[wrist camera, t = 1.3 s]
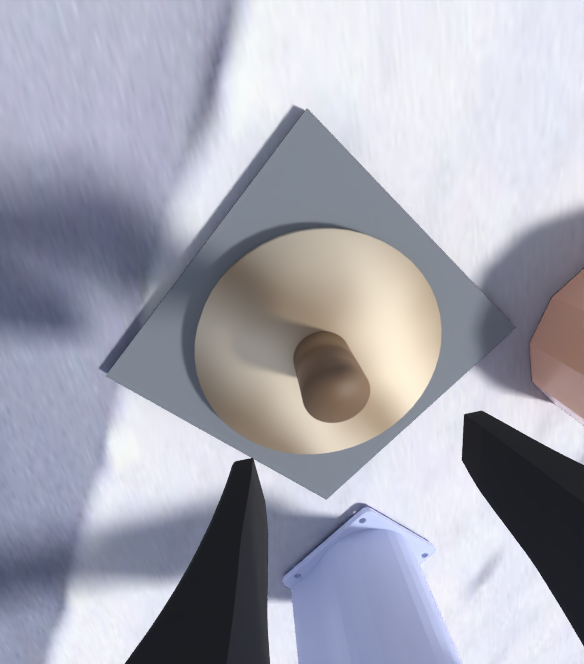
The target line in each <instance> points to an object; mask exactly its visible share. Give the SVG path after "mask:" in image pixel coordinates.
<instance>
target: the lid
mask: <svg viewBox="0 0 584 664" xmlns="http://www.w3.org/2000/svg"><path fill="white" fill-rule="evenodd" d="M441 331H442V328H441V319H440V312H439V309H438V305H437V301H436V298H435V296H434V294H433V291H432V289H431V287H430V285H429V284H428V282H427V280H426V279H425V277H424V276H423V274H422V273H421V272H420V270H419V269H418V268H417V267H416V266H415V265H414V264H413V262H412V261H410V260H409V259H408V258H407V257H406V256H404V255H403V254H402V253H401V252H400V251H398V250H396V249H395V248H393V247H391V246H390V245H388V244H387V243H385V242H383V241H381V240H378V239H376V238H374V237H371V236H369V235H366V234H364V233H360V232H356V231H352V230H348V229H340V228H331V227H330V228H309V229H303V230H297V231H293V232H290V233H286V234H283V235H280V236H277V237H275V238H273V239H270V240H268V241H266V242H264V243H262V244H260V245H258V246H257V247H255V248H254V249H252V250H250V251H249V252H247V253H246V254H245V255H243V256H242V257H241V258H240V259H239V260H237V261H236V262H235V263H234V264H233V265H232V266H231V267H230V268H229V269H228V270H227V271H226V272H225V273H224V275H223V276H222V277H221V278H220V280H219V281H218V282H217V284H216V285H215V287H214V288H213V290H212V291H211V293H210V295H209V297H208V299H207V301H206V303H205V306H204V308H203V311H202V314H201V317H200V320H199V323H198V327H197V332H196V338H195V365H196V372H197V376H198V379H199V382H200V386H201V388H202V390H203V393H204V395H205V397H206V399H207V401H208V402H209V404H210V405H211V407H212V408H213V410H214V411H215V412H216V414H217V415H218V416H219V417H220V418H221V419H222V420H223V422H224V423H226V424H227V425H228V426H229V427H230V428H231V429H233V430H234V431H235V432H237V433H238V434H240V435H241V436H243V437H244V438H246V439H248V440H250V441H252V442H254V443H256V444H258V445H260V446H263V447H266V448H269V449H272V450H276V451H280V452H284V453H293V454H323V453H330V452H335V451H340V450H344V449H347V448H350V447H354V446H356V445H359V444H361V443H364V442H366V441H368V440H370V439H372V438H374V437H376V436H378V435H379V434H381V433H382V432H384V431H385V430H387V429H388V428H390V427H391V426H393V425H394V424H395V423H396V422H397V421H399V420H400V419H401V418H402V417H403V416H404V415H405V414H406V413H407V412H408V411H409V410H410V409H411V408H412V407H413V406H414V404H415V403H416V402H417V400H418V399H419V398H420V397H421V395H422V394H423V392H424V390H425V389H426V387H427V385H428V384H429V381H430V379H431V377H432V375H433V373H434V370H435V367H436V364H437V361H438V358H439V352H440V346H441Z"/></svg>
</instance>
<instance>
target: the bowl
mask: <svg viewBox="0 0 584 664" xmlns="http://www.w3.org/2000/svg"><path fill="white" fill-rule="evenodd" d="M529 344H530V360H531V376H532V382H533V383H534V384H535V385H536V386H537V387H538V388H539V389H540V390H541V391H542V392H543V393H544V394H545V395H546V396H547V397H548V398H549V399H550V400H551V401H552V402H553V403H554V404H555V405H557V406H558V407H559V408H561V409H562V410H563V411H565V412H566V413H567V414H569V415H570V416H571V417H573V418H574V419H575V420H577V421H578V422H579V423H581V424H582V425H583V426H584V269H583V270H582V271H580V272H579V273H578V274H577V275H576V276H575V277H574V278H573V279H572V280H571V281H569V282H568V283H567V284H566V285H565V286H564V287H563V288H562V289H561V290H559V291H558V292H557V293H556V294H555V295H554V296H553V297H552V298H551V300H550V302H549V304H548V306H547V308H546V310H545V312H544V314H543V316H542V318H541V321H540V323H539V325H538V327H537V329H536V331H535V333H534V335H533V337H532V339H531V341H530V343H529Z"/></svg>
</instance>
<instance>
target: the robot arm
mask: <svg viewBox="0 0 584 664" xmlns="http://www.w3.org/2000/svg"><path fill="white" fill-rule="evenodd" d="M462 461H463V463H464V465H465V467H466V468H467V470H468V472H469V474H470V476H471V477H472V479H473V481H474V482H475V484H476V486H477V487H478V489H479V490H480V492H481V493H482V495H483V496H484V497H485V499H486V500H487V501H488V503H489V504H490V505H491V507H492V508H493V510H494V511H495V512H496V514H497V515H498V516H499V518H500V519H501V520H502V522H503V523H504V524H505V526H506V527H507V528H508V530H509V531H510V532H511V534H512V535H513V536H514V538H515V539H516V540H517V542H518V543H519V544H520V546H521V547H522V548H523V550H524V551H525V552H526V554H527V555H528V557H529V558H530V559H531V561H532V562H533V564H534V565H535V567H536V568H537V570H538V571H539V573H540V574H541V576H542V578H543V579H544V581H545V582H546V584H547V586H548V587H549V589H550V590H551V592H552V594H553V595H554V597H555V599H556V600H557V602H558V603H559V605H560V607H561V608H562V610H563V612H564V613H565V615H566V617H567V618H568V620H569V622H570V624H571V625H572V627H573V629H574V630H575V632H576V634H577V635H578V637H579V639H580V640H581V642H582V644H583V646H584V465H582V464H580V463H578V462H576V461H574V460H572V459H570V458H568V457H566V456H564V455H562V454H560V453H558V452H556V451H554V450H553V449H551V448H549V447H547V446H545V445H543V444H541V443H539V442H538V441H536V440H534V439H532V438H530V437H528V436H527V435H525V434H523V433H521V432H519V431H518V430H516V429H514V428H512V427H511V426H509V425H507V424H505V423H503V422H502V421H500V420H498V419H496V418H494V417H493V416H491V415H489V414H487V413H485V412H483V411H478V412H473V413H468V414H464V427H463V447H462ZM434 552H435V547H434V545H433V544H432V543H430V542H428V541H427V540H425V539H423V538H421V537H420V536H418V535H416V534H415V533H413V532H411V531H409V530H408V529H406V528H404V527H403V526H401V525H399V524H397V523H396V522H394V521H392V520H391V519H389V518H387V517H385V516H384V515H382V514H380V513H379V512H377V511H375V510H373V509H372V508H369V507H365V508H362V509H361V510H360V511H359V512H358V513H356V514H355V515H354V516H353V517H352V518H351V519H349V520H348V521H347V522H346V523H345V524H344V525H343V526H341V527H340V528H339V529H338V530H337V531H336V532H334V533H333V534H332V535H331V536H330V537H329V538H328V539H326V540H325V541H324V542H323V543H322V544H321V545H319V546H318V547H317V548H316V549H315V550H314V551H313V552H311V553H310V554H309V555H308V556H307V557H306V558H304V559H303V560H302V561H301V562H300V563H299V564H298V565H296V566H295V567H294V568H293V569H292V570H291V571H289V572H288V573H287V574H286V575H285V576H284V577H283V579H282V582H283V585H284V586H285V587H288V588H290V589H291V593H292V603H293V613H294V623H295V633H296V643H297V653H298V663H299V664H463V663H462V661H461V658H460V656H459V654H458V652H457V649H456V647H455V645H454V642H453V640H452V638H451V636H450V633H449V631H448V629H447V626H446V624H445V622H444V620H443V617H442V615H441V613H440V610H439V608H438V606H437V603H436V601H435V599H434V597H433V594H432V592H431V590H430V587H429V585H428V583H427V581H426V578H425V576H424V574H423V571H422V569H421V567H420V565H419V564H421V563H422V562H423V561H425V560H426V559H427V558H428V557H430V556H431V555H432V554H433V553H434ZM267 588H268V527H267V516H266V505H265V499H264V495H263V492H262V488H261V485H260V481H259V477H258V474H257V470H256V467H255V463H254V459H253V458H250V459H245V460H240V461H236V462H234V464H233V465H232V468H231V471H230V474H229V477H228V480H227V483H226V486H225V488H224V491H223V494H222V496H221V499H220V501H219V504H218V506H217V508H216V511H215V513H214V515H213V518H212V520H211V522H210V525H209V527H208V529H207V531H206V533H205V535H204V537H203V539H202V541H201V543H200V545H199V547H198V549H197V551H196V553H195V555H194V557H193V559H192V561H191V563H190V565H189V566H188V568H187V570H186V572H185V573H184V575H183V577H182V579H181V580H180V582H179V584H178V586H177V587H176V589H175V591H174V592H173V594H172V595H171V597H170V599H169V600H168V602H167V603H166V605H165V606H164V608H163V610H162V611H161V613H160V614H159V616H158V617H157V619H156V620H155V622H154V623H153V625H152V626H151V628H150V629H149V631H148V632H147V633H146V635H145V636H144V638H143V639H142V640H141V642H140V643H139V645H138V646H137V647H136V649H135V650H134V652H133V653H132V654H131V656H130V657H129V659H128V660H127V661H126V663H125V664H270V657H269V642H268V623H267Z"/></svg>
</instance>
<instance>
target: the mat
mask: <svg viewBox="0 0 584 664" xmlns="http://www.w3.org/2000/svg"><path fill="white" fill-rule="evenodd" d="M330 227H331V228H340V229H348V230H352V231H356V232H360V233H364V234H366V235H369V236H371V237H374V238H376V239H378V240H381V241H383V242H385V243H387V244H388V245H390V246H391V247H393V248H395V249H396V250H398V251H400V252H401V253H402V254H403V255H404V256H406V257H407V258H408V259H409V260H410V261H412V262H413V264H414V265H415V266H416V267H417V268H418V269H419V270H420V272H421V273H422V274H423V276H424V277H425V279H426V280H427V282H428V284H429V285H430V287H431V289H432V291H433V294H434V296H435V298H436V301H437V305H438V309H439V312H440V319H441V328H442V331H441V346H440V352H439V358H438V361H437V364H436V367H435V370H434V373H433V375H432V377H431V379H430V381H429V384H428V385H427V387H426V389H425V390H424V392H423V394H422V395H421V397H420V398H419V399H418V400H417V402H416V403H415V404H414V406H413V407H412V408H411V409H410V410H409V411H408V412H407V413H406V414H405V415H404V416H403V417H402V418H401V419H400V420H399V421H397V422H396V423H395V424H394V425H393V426H391V427H390V428H388V429H387V430H385V431H384V432H382V433H381V434H379V435H378V436H376V437H374V438H372V439H370V440H368V441H366V442H364V443H361V444H359V445H356V446H354V447H350V448H347V449H344V450H340V451H335V452H330V453H323V454H293V453H284V452H280V451H276V450H272V449H269V448H266V447H263V446H260V445H258V444H256V443H254V442H252V441H250V440H248V439H246V438H244V437H243V436H241V435H240V434H238V433H237V432H235V431H234V430H233V429H231V428H230V427H229V426H228V425H227V424H226V423H224V422H223V420H222V419H221V418H220V417H219V416H218V415H217V414H216V412H215V411H214V410H213V408H212V407H211V405H210V404H209V402H208V401H207V399H206V397H205V395H204V393H203V390H202V388H201V386H200V382H199V379H198V376H197V372H196V365H195V338H196V332H197V327H198V323H199V320H200V317H201V314H202V311H203V308H204V306H205V303H206V301H207V299H208V297H209V295H210V293H211V291H212V290H213V288H214V287H215V285H216V284H217V282H218V281H219V280H220V278H221V277H222V276H223V275H224V273H225V272H226V271H227V270H228V269H229V268H230V267H231V266H232V265H233V264H234V263H235V262H236V261H237V260H239V259H240V258H241V257H242V256H243V255H245V254H246V253H247V252H249V251H250V250H252V249H254V248H255V247H257V246H258V245H260V244H262V243H264V242H266V241H268V240H270V239H273V238H275V237H277V236H280V235H283V234H286V233H290V232H293V231H297V230H303V229H309V228H330ZM515 328H516V327H515V326H514V325H513V324H512V323H511V322H510V321H509V320H508V319H507V318H506V317H505V315H504V314H503V313H502V312H501V311H500V310H499V309H498V308H497V307H496V306H495V305H494V304H493V303H492V302H491V301H490V300H489V299H488V298H487V297H486V296H485V294H484V293H483V292H482V291H481V290H480V289H479V288H478V287H477V286H476V285H475V284H474V283H473V282H472V281H471V280H470V279H469V278H468V277H467V276H466V275H465V273H464V272H463V271H462V270H461V269H460V268H459V267H458V266H457V265H456V264H455V263H454V262H453V261H452V260H451V259H450V258H449V257H448V256H447V255H446V254H445V252H444V251H443V250H442V249H441V248H440V247H439V246H438V245H437V244H436V243H435V242H434V241H433V240H432V239H431V238H430V237H429V236H428V235H427V234H426V233H425V231H424V230H423V229H422V228H421V227H420V226H419V225H418V224H417V223H416V222H415V221H414V220H413V219H412V218H411V217H410V216H409V215H408V214H407V213H406V212H405V210H404V209H403V208H402V207H401V206H400V205H399V204H398V203H397V202H396V201H395V200H394V199H393V198H392V197H391V196H390V195H389V194H388V193H387V192H386V191H385V189H384V188H383V187H382V186H381V185H380V184H379V183H378V182H377V181H376V180H375V179H374V178H373V177H372V176H371V175H370V174H369V173H368V172H367V171H366V170H365V168H364V167H363V166H362V165H361V164H360V163H359V162H358V161H357V160H356V159H355V158H354V157H353V156H352V155H351V154H350V153H349V152H348V151H347V150H346V149H345V147H344V146H343V145H342V144H341V143H340V142H339V141H338V140H337V139H336V138H335V137H334V136H333V135H332V134H331V133H330V132H329V131H328V130H327V129H326V128H325V127H324V125H323V124H322V123H321V122H320V121H319V120H318V119H317V118H316V117H315V116H314V115H313V114H312V113H311V112H310V111H309V110H308V109H306V110H305V111H304V113H303V114H302V115H301V117H300V118H299V119H298V121H297V122H296V123H295V125H294V126H293V127H292V129H291V130H290V131H289V133H288V134H287V135H286V137H285V138H284V139H283V141H282V142H281V143H280V145H279V146H278V147H277V149H276V150H275V151H274V153H273V154H272V155H271V157H270V158H269V159H268V161H267V162H266V163H265V165H264V166H263V167H262V169H261V170H260V171H259V173H258V174H257V175H256V177H255V178H254V179H253V181H252V182H251V183H250V185H249V186H248V187H247V189H246V190H245V191H244V193H243V194H242V195H241V197H240V198H239V199H238V200H237V202H236V203H235V204H234V206H233V207H232V208H231V210H230V211H229V212H228V214H227V215H226V216H225V218H224V219H223V220H222V222H221V223H220V224H219V226H218V227H217V228H216V230H215V231H214V232H213V234H212V235H211V236H210V238H209V239H208V240H207V242H206V243H205V244H204V246H203V247H202V248H201V250H200V251H199V252H198V254H197V255H196V256H195V258H194V259H193V260H192V262H191V263H190V264H189V266H188V267H187V268H186V270H185V271H184V272H183V274H182V275H181V276H180V278H179V279H178V280H177V282H176V283H175V284H174V286H173V287H172V288H171V290H170V291H169V292H168V294H167V295H166V296H165V298H164V299H163V300H162V302H161V303H160V304H159V306H158V307H157V308H156V309H155V311H154V312H153V313H152V315H151V316H150V317H149V319H148V320H147V321H146V323H145V324H144V325H143V327H142V328H141V329H140V331H139V332H138V333H137V335H136V336H135V337H134V339H133V340H132V341H131V343H130V344H129V345H128V347H127V348H126V349H125V351H124V352H123V353H122V355H121V356H120V357H119V359H118V360H117V361H116V363H115V364H114V365H113V367H112V368H111V369H110V371H109V372H108V373H107V375H106V376H107V377H108V378H110V379H112V380H114V381H115V382H117V383H119V384H121V385H123V386H124V387H126V388H128V389H130V390H132V391H133V392H135V393H137V394H139V395H140V396H142V397H144V398H146V399H148V400H149V401H151V402H153V403H155V404H157V405H158V406H160V407H162V408H164V409H165V410H167V411H169V412H171V413H173V414H174V415H176V416H178V417H180V418H182V419H183V420H185V421H187V422H189V423H190V424H192V425H194V426H196V427H198V428H199V429H201V430H203V431H205V432H207V433H208V434H210V435H212V436H214V437H216V438H217V439H219V440H221V441H223V442H224V443H226V444H228V445H230V446H232V447H233V448H235V449H237V450H239V451H241V452H242V453H244V454H246V455H248V456H249V457H251V458H253V459H255V460H257V461H258V462H260V463H262V464H264V465H266V466H267V467H269V468H271V469H273V470H274V471H276V472H278V473H280V474H282V475H283V476H285V477H287V478H289V479H291V480H292V481H294V482H296V483H298V484H299V485H301V486H303V487H305V488H307V489H308V490H310V491H312V492H314V493H316V494H317V495H319V496H321V497H323V498H324V499H326V500H327V499H328V498H329V497H330V496H331V495H332V494H333V493H334V492H335V491H336V490H338V489H339V488H340V487H341V486H342V485H343V484H344V483H345V482H346V481H347V480H349V479H350V478H351V477H352V476H353V475H354V474H355V473H356V472H357V471H358V470H360V469H361V468H362V467H363V466H364V465H365V464H366V463H367V462H368V461H370V460H371V459H372V458H373V457H374V456H375V455H376V454H377V453H378V452H379V451H381V450H382V449H383V448H384V447H385V446H386V445H387V444H388V443H389V442H390V441H392V440H393V439H394V438H395V437H396V436H397V435H398V434H399V433H400V432H401V431H403V430H404V429H405V428H406V427H407V426H408V425H409V424H410V423H411V422H412V421H414V420H415V419H416V418H417V417H418V416H419V415H420V414H421V413H422V412H424V411H425V410H426V409H427V408H428V407H429V406H430V405H431V404H432V403H433V402H435V401H436V400H437V399H438V398H439V397H440V396H441V395H442V394H443V393H444V392H446V391H447V390H448V389H449V388H450V387H451V386H452V385H453V384H454V383H455V382H457V381H458V380H459V379H460V378H461V377H462V376H463V375H464V374H465V373H467V372H468V371H469V370H470V369H471V368H472V367H473V366H474V365H475V364H476V363H478V362H479V361H480V360H481V359H482V358H483V357H484V356H485V355H486V354H487V353H489V352H490V351H491V350H492V349H493V348H494V347H495V346H496V345H497V344H498V343H500V342H501V341H502V340H503V339H504V338H505V337H506V336H507V335H508V334H510V333H511V332H512V331H513V330H514V329H515Z"/></svg>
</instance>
